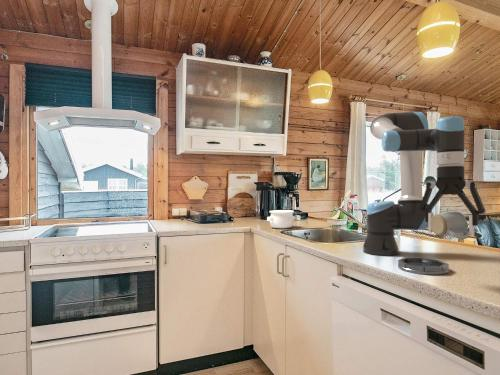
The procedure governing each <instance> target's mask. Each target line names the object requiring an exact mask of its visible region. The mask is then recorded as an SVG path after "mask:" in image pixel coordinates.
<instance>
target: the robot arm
mask: <svg viewBox="0 0 500 375" xmlns="http://www.w3.org/2000/svg"><path fill="white" fill-rule="evenodd" d="M369 129H370V130H369V131H370V134H372V136H373V137H375V139H379V140H381V147H382V150H383V151H384V152H392V153H395V152H399V160H400V161H399V162H400V163H399V164H400V166H399V167H400V198H399V199H397V203H396V204H395V202H394V200H386V201H378V202H377V201H376V202H371V203H368V205H367V206H366V214H365V215H366V236H365V240H364V243H363V246H362V248H363V249H362V252H363V253H364V254H368V255H374V256H396V255H398V254H399V246H398V244H397V241H396V238H395V230H398V231H423V230H426V229H428V230H427V231H428V233H434V232H433V231H432V229H431V226H430V221H431V218H432V217H433V216H434V215H435V214H434V212H433V209H434V208H435V207H436V205H437V204H438V202H439V201H440V200H441V198H442V197H443V196H444V195H445V196H447V195H452V196H457V197H459V199H461V200H460V201H462V202H463V204H464V205H465V206H466V208H467V210H468V211H469V212H470V213H471V214H469V216H468V231H469V236H468V238H469V237H471V238H472V237H474V236H475V227H476V226H478V225H479V215H481V214H485V213H486V212H487V211H486V209H485V206H484V203H483V201H482V198H481V197H480V195H479V192H478V187H477V186H478V184H477V182H476V181H468V182H467V181H466V179H465V167H464V166H463V165H464V164H465V129H466V127H465V120H464V118H463V117H462V116H455V115H454V116H445V117H441V118H438V119H437V121H436V127H435V128H429V121H428V117H427V116H426V114H425V113H424V112H422V111H407V112H404V111H403V112H388V113H383V114H381V115H378V116H376V118H374V119H373V120H372V122H371V124H370V126H369ZM421 151H422V152H423V151H427V152H428V151H429V152H436V165H437V166H438V167H437V168H436V181H435V182H432V181H427V182H426V183H425V187H426V189H425V191H424V194H423V181H422V180H423V178H422V177H423V176H422V160H421V159H422V155H421V154H422V153H421ZM435 187H436V188H437V189H438V191H437V192H436V193H435V196H434V197H433V198H432V200H431V201H430V202H429V200H430V197H431V194H432V192H433V189H435ZM465 187H467V189H469V191H470V194H471V196H472V198H473V201H474V203H475V205H476V207H475V205H474V204H473V203H472V202H471V200H470V199H469V197H468V196H467V194H466V193H465V192H464V188H465ZM428 202H429V203H428Z"/></svg>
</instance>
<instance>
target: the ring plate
mask: <svg viewBox="0 0 500 375" xmlns="http://www.w3.org/2000/svg"><path fill="white" fill-rule="evenodd" d="M449 265H450V264H449V263H447V262H445V261H444V260H443V261H442V260H440V259H436V258H427V257H421V256H420V257H419V256H416V257H415V256H414V257H411V256H410V257H407V256H405V257H404V256H403V258H399V259H398V260H397V268H398V269H399V270H401V271H404V272H407V273H410V274H411V273H412V274H415V275H416V274H417V275H423V276H424V275H425V276H442V275H443V274H444V275H447V274H449V272H450V268H449Z"/></svg>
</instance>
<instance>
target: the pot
mask: <svg viewBox="0 0 500 375" xmlns="http://www.w3.org/2000/svg"><path fill="white" fill-rule="evenodd" d="M294 212H295V211H294V210H292V209H291V210H289V209H277V210H276V209H275V210H269V212H268V213H270V216H267V217H266V221H267V222H269V224H270V227H271V228H274V229H290V228H292V227H293V225H294V221H295V220H296V216H295V215H293V214H294Z"/></svg>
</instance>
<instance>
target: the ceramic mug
mask: <svg viewBox="0 0 500 375" xmlns="http://www.w3.org/2000/svg"><path fill="white" fill-rule="evenodd" d="M430 226H431V229H432V231H433V232H432V233H434V234H435V235H436V236H438V237H439V236H440V237H450V236H451V237H453V238H455V239H459V240H467V239H468V238H469V229H468V228H469V223H468V220H467V218H466V216H465V215H464V214H463V213H461V212H460V211H449V212H443V213H436V214H434V216H433V217H432V218H431V221H430Z"/></svg>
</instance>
